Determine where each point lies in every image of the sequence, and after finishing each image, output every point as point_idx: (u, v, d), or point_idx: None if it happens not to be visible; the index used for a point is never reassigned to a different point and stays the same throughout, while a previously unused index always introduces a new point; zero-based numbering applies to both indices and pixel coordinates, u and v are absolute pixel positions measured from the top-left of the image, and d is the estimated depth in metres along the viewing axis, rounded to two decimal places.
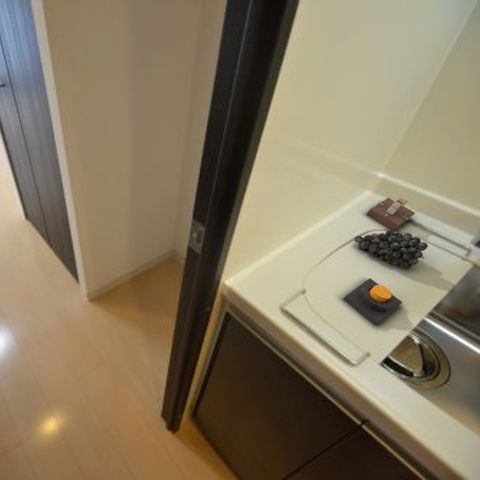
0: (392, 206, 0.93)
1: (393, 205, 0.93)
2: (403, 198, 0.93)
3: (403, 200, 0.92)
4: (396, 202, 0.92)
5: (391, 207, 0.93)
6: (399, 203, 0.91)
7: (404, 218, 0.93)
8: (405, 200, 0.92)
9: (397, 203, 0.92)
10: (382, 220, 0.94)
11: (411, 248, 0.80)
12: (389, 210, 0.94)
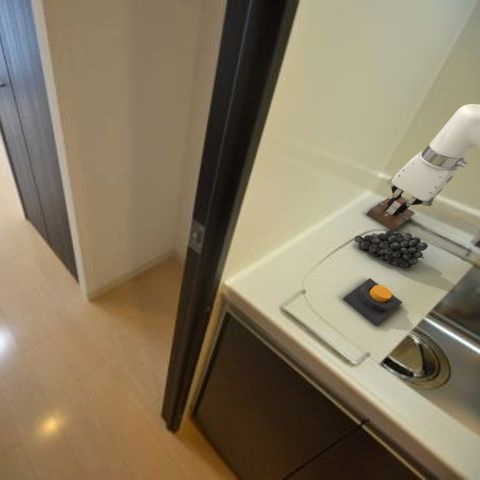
0: (392, 206, 0.93)
1: (393, 205, 0.93)
2: (403, 198, 0.93)
3: (403, 200, 0.92)
4: (396, 202, 0.92)
5: (391, 207, 0.93)
6: (399, 203, 0.91)
7: (404, 218, 0.93)
8: (405, 200, 0.92)
9: (397, 203, 0.92)
10: (382, 220, 0.94)
11: (411, 248, 0.80)
12: (389, 210, 0.94)
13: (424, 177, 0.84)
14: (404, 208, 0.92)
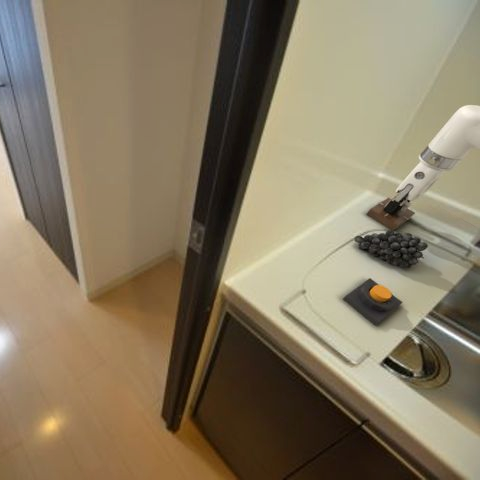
0: (391, 199, 0.95)
1: None
2: (407, 202, 0.92)
3: None
4: None
5: (390, 200, 0.95)
6: (394, 196, 0.93)
7: (404, 218, 0.93)
8: None
9: None
10: (382, 220, 0.94)
11: (411, 248, 0.80)
12: (387, 203, 0.96)
13: None
14: (390, 205, 0.93)
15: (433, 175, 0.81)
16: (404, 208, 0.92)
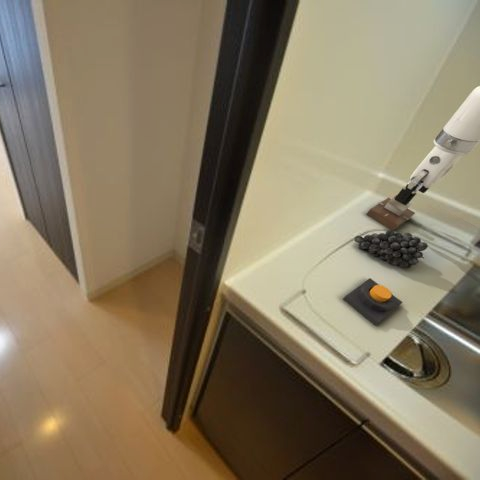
0: (391, 199, 0.95)
1: None
2: None
3: None
4: None
5: None
6: (394, 196, 0.93)
7: (404, 218, 0.93)
8: None
9: None
10: (382, 220, 0.94)
11: (411, 248, 0.80)
12: None
13: None
14: (402, 193, 0.87)
15: (449, 159, 0.77)
16: (404, 208, 0.92)
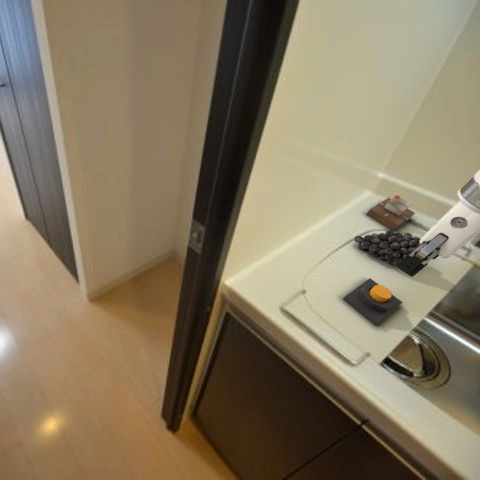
0: (391, 199, 0.95)
1: None
2: (407, 202, 0.92)
3: (402, 201, 0.92)
4: None
5: None
6: (394, 196, 0.93)
7: (404, 218, 0.93)
8: (404, 202, 0.92)
9: None
10: (382, 220, 0.94)
11: (411, 248, 0.80)
12: None
13: None
14: (407, 261, 0.62)
15: None
16: (404, 208, 0.92)
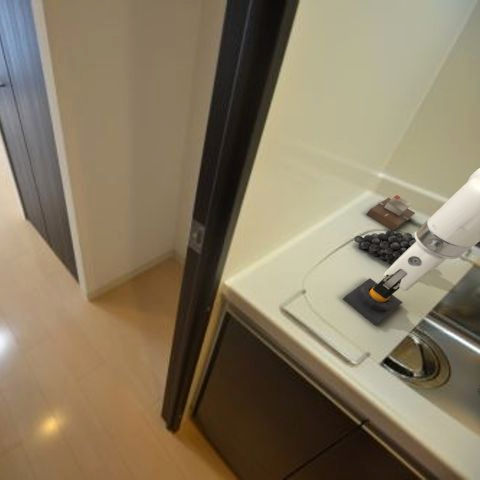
0: (391, 199, 0.95)
1: None
2: (407, 202, 0.92)
3: (402, 201, 0.92)
4: None
5: None
6: (394, 196, 0.93)
7: (404, 218, 0.93)
8: (404, 202, 0.92)
9: None
10: (382, 220, 0.94)
11: None
12: None
13: None
14: (381, 285, 0.72)
15: (433, 264, 0.59)
16: (404, 208, 0.92)
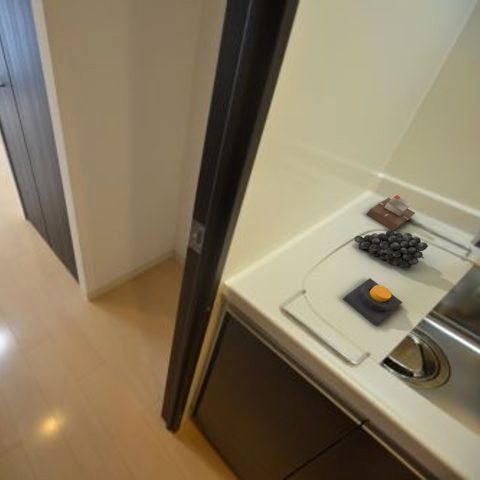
0: (391, 199, 0.95)
1: None
2: (407, 202, 0.92)
3: (402, 201, 0.92)
4: None
5: None
6: (394, 196, 0.93)
7: (404, 218, 0.93)
8: (404, 202, 0.92)
9: None
10: (382, 220, 0.94)
11: (411, 248, 0.80)
12: None
13: None
14: None
15: None
16: (404, 208, 0.92)
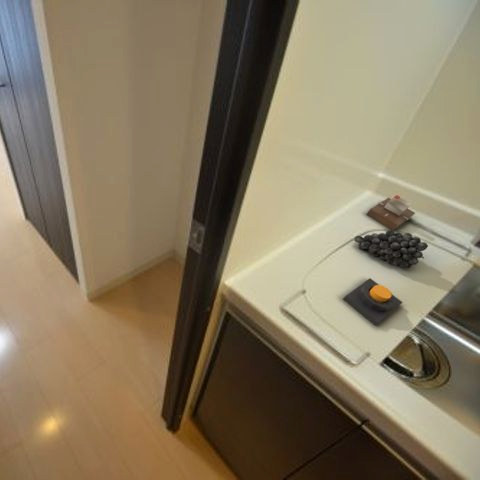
0: (391, 199, 0.95)
1: None
2: (407, 202, 0.92)
3: (402, 201, 0.92)
4: None
5: None
6: (394, 196, 0.93)
7: (404, 218, 0.93)
8: (404, 202, 0.92)
9: None
10: (382, 220, 0.94)
11: (411, 248, 0.80)
12: None
13: None
14: None
15: None
16: (404, 208, 0.92)
